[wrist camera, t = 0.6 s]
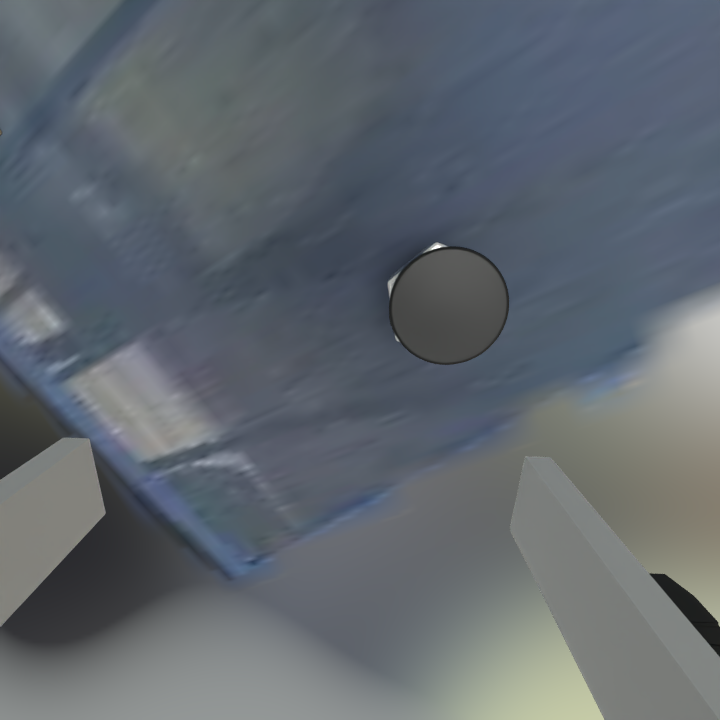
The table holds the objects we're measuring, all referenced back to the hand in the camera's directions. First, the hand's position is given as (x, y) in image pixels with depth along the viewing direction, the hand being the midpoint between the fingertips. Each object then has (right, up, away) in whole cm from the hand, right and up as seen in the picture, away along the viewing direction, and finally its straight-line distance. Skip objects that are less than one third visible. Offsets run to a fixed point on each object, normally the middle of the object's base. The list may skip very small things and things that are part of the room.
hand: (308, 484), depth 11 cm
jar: (+9, +10, +25) cm, 29 cm away
